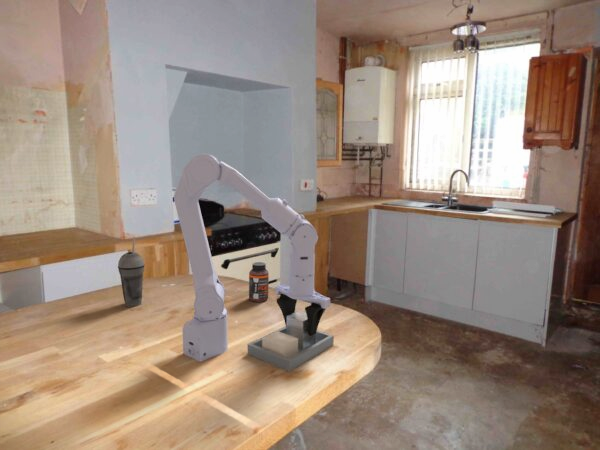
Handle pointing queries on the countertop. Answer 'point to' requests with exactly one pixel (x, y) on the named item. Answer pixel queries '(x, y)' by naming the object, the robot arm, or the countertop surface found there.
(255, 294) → the supplement bottle
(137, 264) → the beverage cup
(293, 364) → the tote
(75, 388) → the countertop surface
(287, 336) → the cream bevelled block
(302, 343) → the tin
